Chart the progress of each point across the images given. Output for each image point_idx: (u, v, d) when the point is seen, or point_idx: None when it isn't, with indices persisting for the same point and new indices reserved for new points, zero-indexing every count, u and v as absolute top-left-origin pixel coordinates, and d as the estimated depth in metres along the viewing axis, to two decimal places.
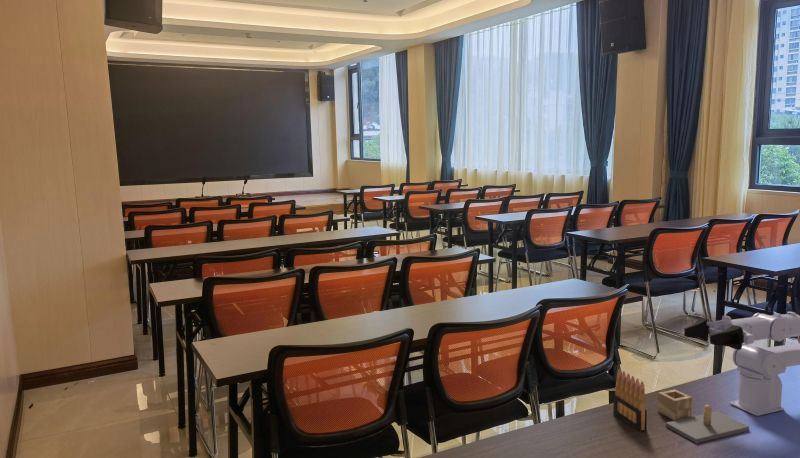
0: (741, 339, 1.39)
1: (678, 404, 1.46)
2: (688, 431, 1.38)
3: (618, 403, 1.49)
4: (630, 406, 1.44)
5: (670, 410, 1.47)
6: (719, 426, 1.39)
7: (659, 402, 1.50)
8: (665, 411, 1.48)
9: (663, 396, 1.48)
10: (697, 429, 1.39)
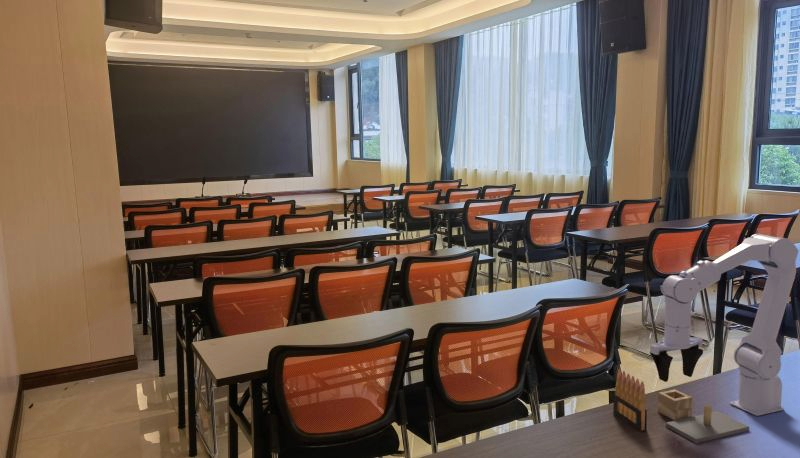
0: (657, 355, 1.45)
1: (678, 404, 1.46)
2: (688, 431, 1.38)
3: (618, 403, 1.49)
4: (630, 406, 1.44)
5: (670, 410, 1.47)
6: (719, 426, 1.39)
7: (659, 402, 1.50)
8: (665, 411, 1.48)
9: (663, 396, 1.48)
10: (697, 429, 1.39)
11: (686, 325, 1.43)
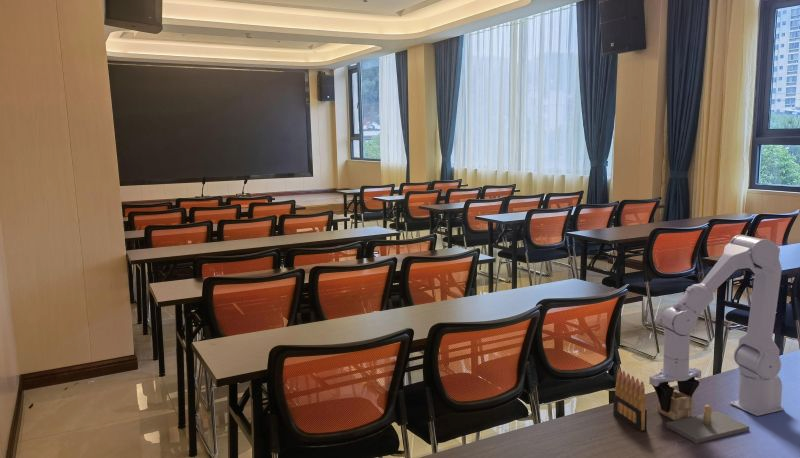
0: (658, 386, 1.46)
1: (678, 404, 1.46)
2: (688, 431, 1.38)
3: (618, 403, 1.49)
4: (630, 406, 1.44)
5: (670, 410, 1.47)
6: (719, 426, 1.39)
7: (659, 402, 1.50)
8: None
9: None
10: (697, 429, 1.39)
11: (685, 357, 1.44)
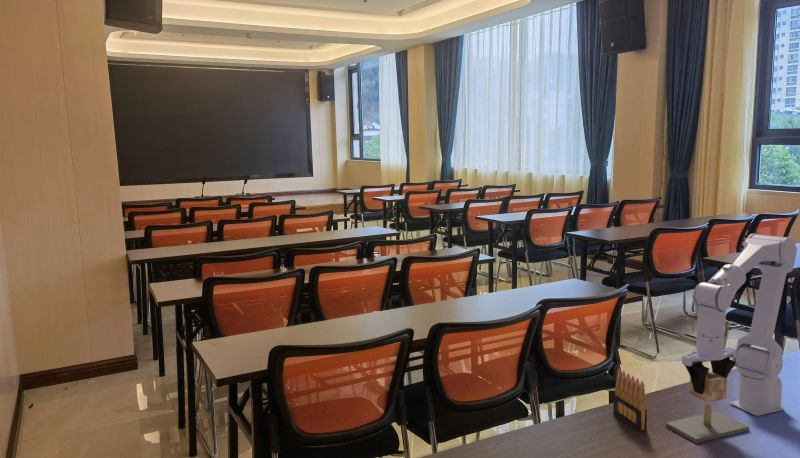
0: (692, 366, 1.37)
1: (713, 385, 1.37)
2: (688, 431, 1.38)
3: (618, 403, 1.49)
4: (630, 406, 1.44)
5: (704, 392, 1.38)
6: (719, 426, 1.39)
7: (691, 384, 1.41)
8: (698, 393, 1.39)
9: None
10: (697, 429, 1.39)
11: (723, 334, 1.36)
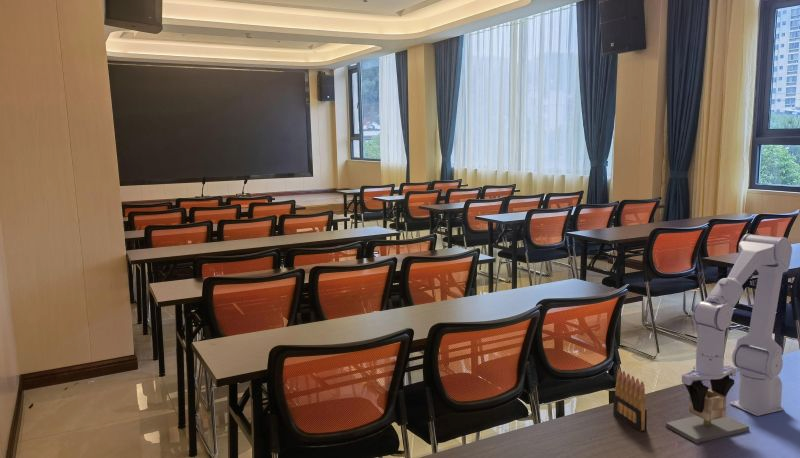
0: (691, 385, 1.38)
1: (712, 404, 1.37)
2: (688, 431, 1.38)
3: (618, 403, 1.49)
4: (630, 406, 1.44)
5: (703, 410, 1.38)
6: (719, 426, 1.39)
7: (691, 402, 1.41)
8: None
9: None
10: (697, 429, 1.39)
11: (723, 353, 1.36)
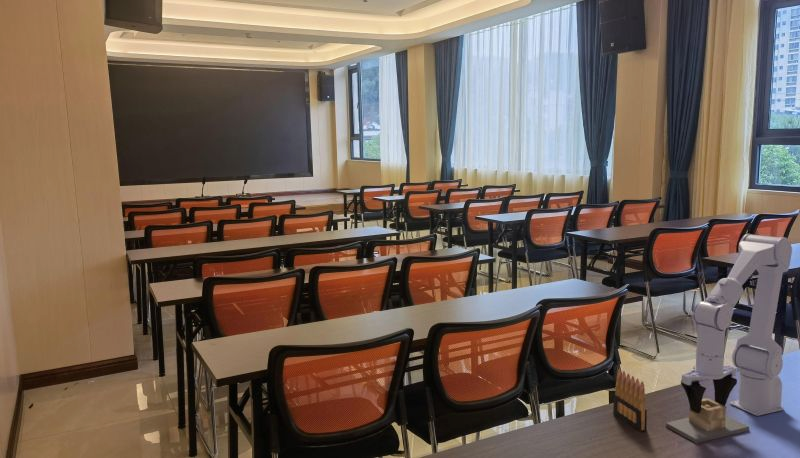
0: (688, 385, 1.37)
1: (712, 414, 1.37)
2: (688, 431, 1.38)
3: (618, 403, 1.49)
4: (630, 406, 1.44)
5: (703, 420, 1.38)
6: None
7: (690, 412, 1.42)
8: (697, 421, 1.40)
9: None
10: (697, 429, 1.39)
11: (723, 353, 1.36)
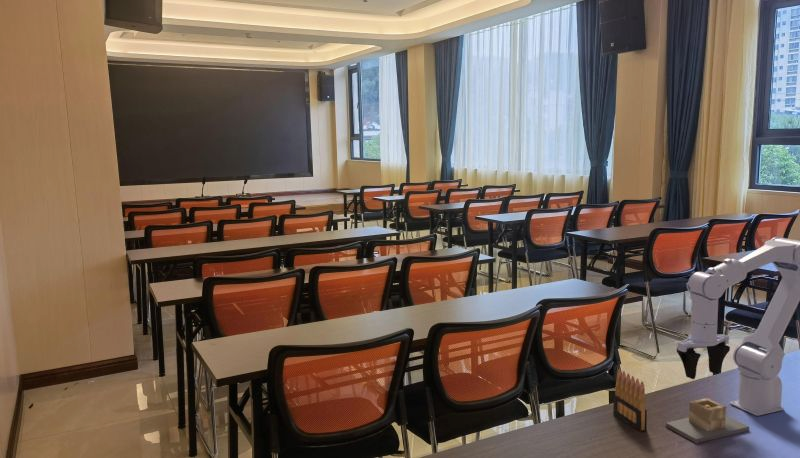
0: (684, 352, 1.44)
1: (712, 414, 1.37)
2: (688, 431, 1.38)
3: (618, 403, 1.49)
4: (630, 406, 1.44)
5: (703, 420, 1.38)
6: None
7: (690, 412, 1.42)
8: (697, 421, 1.40)
9: (695, 405, 1.40)
10: (697, 429, 1.39)
11: (714, 322, 1.42)
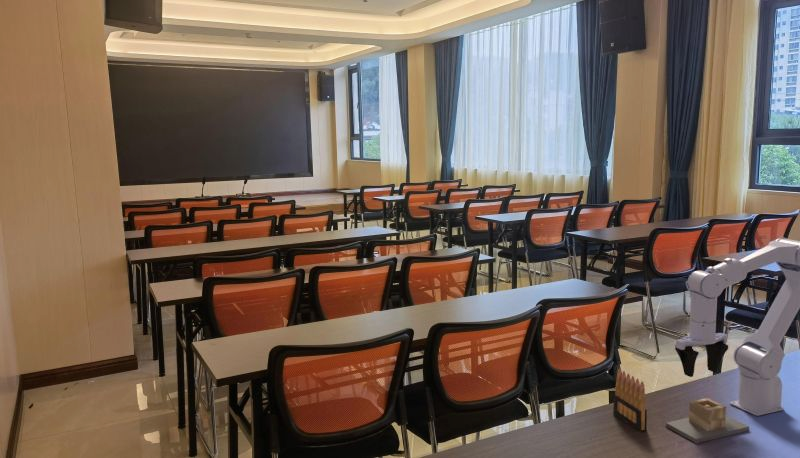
0: (682, 350, 1.45)
1: (712, 414, 1.37)
2: (688, 431, 1.38)
3: (618, 403, 1.49)
4: (630, 406, 1.44)
5: (703, 420, 1.38)
6: None
7: (690, 412, 1.42)
8: (697, 421, 1.40)
9: (695, 405, 1.40)
10: (697, 429, 1.39)
11: (712, 320, 1.43)
